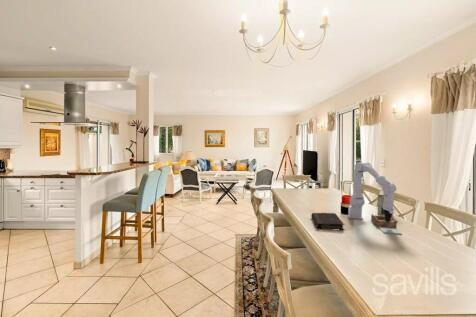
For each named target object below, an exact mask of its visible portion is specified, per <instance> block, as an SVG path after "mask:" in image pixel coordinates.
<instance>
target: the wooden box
mask: <svg viewBox="0 0 476 317" xmlns="http://www.w3.org/2000/svg"><path fill="white" fill-rule="evenodd" d="M370 215H371V217H370V219H371V223H372V224H373V225H374V226H375V227H376V228H378V227H390V228H396V229H397V226H398V225H397V224H398V221H397V220H396V219H395V218H394V217H393V216H391V219H390V222H388V221H386V220H385V216H381V215H378V214H377V215H375V214H373V213H371V214H370Z"/></svg>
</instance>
